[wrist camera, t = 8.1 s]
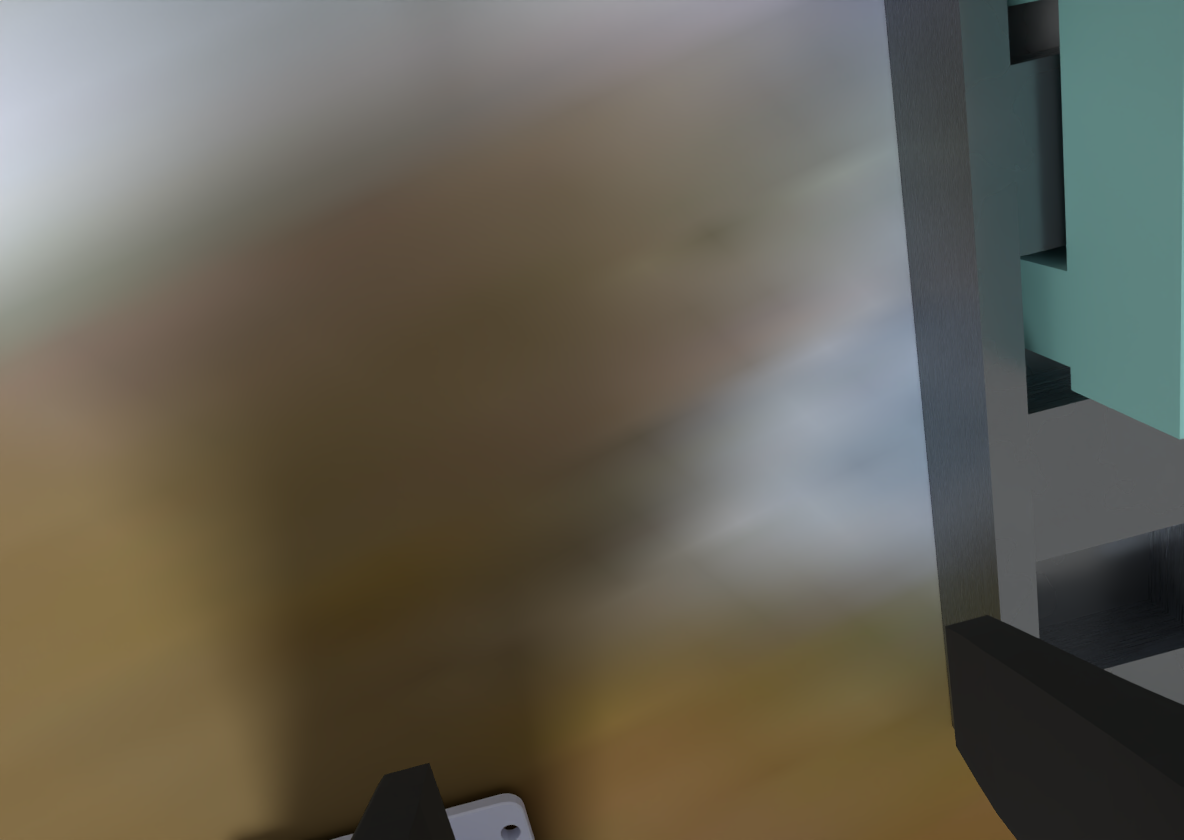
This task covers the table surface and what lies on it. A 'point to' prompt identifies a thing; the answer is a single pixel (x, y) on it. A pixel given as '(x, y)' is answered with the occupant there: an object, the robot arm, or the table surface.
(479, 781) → the table surface
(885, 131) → the table surface
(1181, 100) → the teal rectangular block
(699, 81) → the table surface
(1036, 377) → the rail
